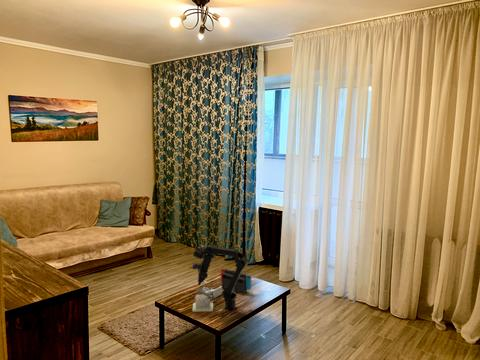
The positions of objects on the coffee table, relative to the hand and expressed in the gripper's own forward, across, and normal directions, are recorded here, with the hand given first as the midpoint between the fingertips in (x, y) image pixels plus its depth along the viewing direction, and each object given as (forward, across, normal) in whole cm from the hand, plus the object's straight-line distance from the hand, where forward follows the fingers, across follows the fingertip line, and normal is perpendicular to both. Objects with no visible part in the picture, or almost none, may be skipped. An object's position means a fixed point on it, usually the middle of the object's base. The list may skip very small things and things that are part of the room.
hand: (198, 283), depth 250 cm
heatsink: (+15, 0, +9) cm, 17 cm away
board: (+15, 0, +9) cm, 17 cm away
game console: (+3, -26, +32) cm, 41 cm away
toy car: (+11, -21, +14) cm, 27 cm away
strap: (+5, +2, +6) cm, 8 cm away
